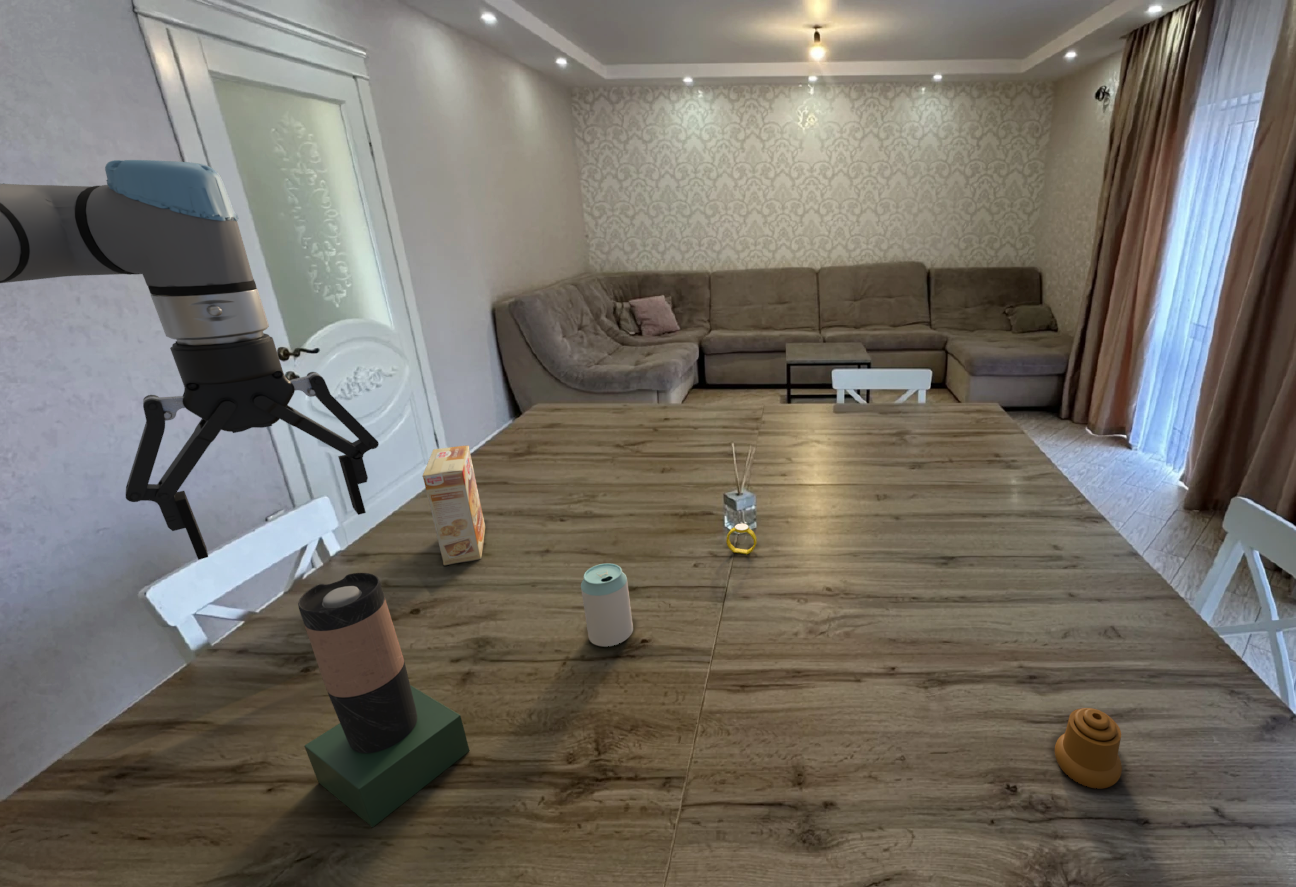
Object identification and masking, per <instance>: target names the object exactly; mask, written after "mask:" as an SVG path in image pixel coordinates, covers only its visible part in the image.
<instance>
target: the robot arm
mask: <svg viewBox="0 0 1296 887" xmlns="http://www.w3.org/2000/svg"><path fill="white" fill-rule="evenodd" d="M104 171H105V175H106V179H105V181H106V184H103V185H93V186H89V185H88V186H87V185H57V184H56V185H54V184H49V185H48V184H17V183H16V184H15V183H4V182H3V183H0V284H6V283H17V282H25V281H26V282H27V281H35V280H44V279H46V280H47V279H52V278H53V279H54V278H63V277H79V276H80V277H81V276H107V275H113V276H114V275H142V276H143V279H144V281H145V284H146V287H147V288H148V291H149V294H150V297H151V300H152V303H153V306H154V308H155V310H156V313H157V317H158V318H159V321H160V324H161V327H162V329H163V332H164V334H165V337H167V338H168V339H172V340H175V341H174V342H173V343H172V344H171V347H170V352H171V354H172V358H173V360H174V363H175V366H176V369H177V371H178V374H179V377H180V380H181V382H182V384H183V388H184V390H183V394H182V395H176V396H162V397H161V396H160V397H159V396H158V395H156V394H148V395H146V396H144V398H143V399H142V405H143V406H142V407H143V412H144V417H145V424H144V427H143V430H142V434H141V437H140V440H139V444H138V446H137V451H136V454H135V456H134V460H133V463H132V467H131V469H130V473H129V476H128V480H127V483H126V486H125V499H126V500H127V501H128V502H130V503H138V502H143V501H145V502H146V501H148V502H154V503H156V504H157V505H158V506H159V509H160V511H161V514H162V516H163V519H164V521H165V523H166V526H167V528H168V529H169V530H170V531H171V532H175V531H180V530H184V529H185V530H186V533H187V535H188V538H189V540H190V543H191V545H192V548H193V549H194V553H195V555H196V557H197V560H198V561H200V560H202V559H206V558H209V553H208V549H207V544H206V542H205V540H204V538H203V534H202V533H201V530H200V528H199V525H198V522H197V520H196V517H195V515H194V512H193V509H192V506H191V504H190V501H189V499H188V496H187V494H186V492H185V490H180V491H179V489H180V488H181V487H182V485H183V484H184V482H186V480H187V478H188V477H189V475H190V474H191V472H192V471H193V470H194V468H195V467H196V465H197V464H198V463H199V461H200V459H201V458H202V457H203V455H204V454H205V452H206V450H207V449H208V448H209V447H210V445H211V444H212V442H214V441H215V440H216V438H217V436H218V435H219V434H220V433H221V431H224V432H228V433H232V434H236V433H242V432H245V431H247V430H250V429H253V428H255V429H256V428H257V429H258V428H261V429H263V428H268V427H273V425H274V424H275V423H277V422H278V421H280V420H281V421H283V422H285V423H287V424H288V425H290V426H292V427H294V428H297V429H298V430H300V431H302V432H304V433H306V434H307V435H310V436H311V437H313V438H315V439H317V440H318V441H320V442H322V443H324V444H326V445H328V446H329V447H331V448H333V449H335V450H336V451H338V452H340V453H341V454H343V455H338V456H337V457H338V460H339V465H340V468H341V471H342V475H343V478H344V482H345V486H346V489H347V492H348V496H349V500H350V502H351V506H352V508H353V510H354V511H355V513H356V514H357V516H359V515H363V514H366V513H367V512H366V508H365V504H364V501H363V497H362V494H361V490H360V486H359V485H361V484H366V483H367V482H368V479H369V477H368V473H367V469H366V466H365V461H364V455H365V453H367V452H369V451H370V450H375V449H378V447H379V445H380V444H379V443H380V442H379V440H377V439H376V437H374V435H372V434H371V433H370V432H369V431H368V430H367V429H366V427H364V426H363V425H362V424H361V422H359V421H358V419H356V418H355V417H354V416H353V415H352V414H351V413H350V411H348V410H347V409H346V408H345V407H344V405H342V404H341V403H340V402H339V401H338V400H337V399H336V398H335V397H334V396H333V395H332V394H331V392H330V389H329V387H328V385H327V383H326V380H325V379H324V377H323V376H321V375H320V374H319V373H318V372H317V371H310V372H308V373H307V374H306V375H305V376H302V377H301V376H300V377H297V378H292V379H289V378H287V376H286V375H285V373H284V370H283V367H282V363H281V361H280V357H279V354H278V350H277V347H276V344H275V341H274V338H273V336H270V334H268V333H264V331H266V330H268V328H269V327H270V324H269V321H268V318H267V315H266V312H265V307H264V305H263V301H262V299H261V295H260V293H259V289H258V287H257V283H256V281H255V278H254V275H253V272H252V269H251V265H250V262H249V258H248V255H247V252H246V251H247V250H246V247H245V245H244V241H243V237H242V232H241V230H240V226H239V223H238V222H239V215H238V213H236V212H235V209H234V206H233V203H232V202H231V199H230V196H229V193H228V191H227V188H226V186H225V182H224V180H223V178H222V176H221V175H220V173H218V171H217V170H216V169H214V168H213V167H211V166H209V165H206V164H203V163H197V162H189V161H188V162H187V161H176V160H175V161H173V160H172V161H171V160H151V159H150V160H149V159H124V160H121V159H116V160H110V161H108V162H107V163H106V164H105V167H104ZM295 391H301V392H303V393H304V394H305V395H306V396H307V397H311V398H313V397H315V398H316V399H317V400H318V401H319V402H320V403H321V405H323V406H324V407H325V408H326V409H327V410H328V411H329V412H330V413H331V414H332V415H334V416H335V418H336V419H337V420H338V421H340V423H342V424H343V425H344V426H345V427H346V428H347V430H349V431H350V432H351V433H352V434H353V435H354V436H355V437H356V438H357V440H355V441H350V440H349V439H347V438H345V437H343V436H341V435H340V434H338V433H336V432H334V431H333V430H332V429H329V428H327V427H325V426H324V425H322V424H320V423H319V422H317V421H315V420H313V419H312V418H310V417H308V416H306V415H305V414H303V413H301V412H299V411H298V410H297V409H295V408H293V407H292V406H291V405H289V403H290V402H291V400H292V398H293V396H294V395H295ZM181 409H186V410H187V411H188V412H190V413H192V414H193V415H195V416H197V417H198V418H200V421H199V422H198V423H197V424H196V426H195V428H194V431H193V432H192V434H190V436H189V438H188V439H187V441H186V442H185V444H184V445H183V446H182V448H181V450H180V451H179V452H178V454H177V455H176V456H175V458H174V460H173V461H172V462H171V464H170V465H169V466H168V468H167V469H166V470H165V472H164V474H163V475H162V476H161V478H160V479H159V480H158V482H157V483H149V482H150V480H151V476H152V473H153V469H154V466H155V463H156V460H157V458H158V457H157V456H158V453H159V449H160V447H161V443H162V440H163V437H164V433H165V431H166V430H165V429H166V421H172V420H174V419H176V417H177V412H178V411H179V410H181Z"/></svg>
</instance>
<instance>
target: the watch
mask: <svg viewBox="0 0 1296 887" xmlns="http://www.w3.org/2000/svg"><path fill="white" fill-rule="evenodd" d="M732 533H738V534H745V533H746V534H748V535H750V537H751V539H752V540H753V545H752V546H751V547H750V548H748V549H744V548H737V547H735V546H734V545H733V543H732V542H731V540H730V538H731V535H732ZM757 541H758V538H757V535H756V533H755V532H754V530H752V529H751V528H750V527H749V525H748V524H746V523H737V524H735V525H734V527H732V528H731V529H730V530H729V531H728V533H727V534H726V539H725V543H726V545H727V548H728V549H729V550H730V551H731V552H732V553H734V554H743V555H749V554H751V553H752V552H754V550H755V548H756V547H757V546H756V545H757Z"/></svg>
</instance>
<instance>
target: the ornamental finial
mask: <svg viewBox="0 0 1296 887" xmlns="http://www.w3.org/2000/svg"><path fill="white" fill-rule="evenodd" d="M1068 716H1069V717H1068V720H1067V724H1066V727H1065V732H1064V733H1062V734H1061V735H1060V736H1059V737H1058V738H1057V740H1056V742H1055V745H1054V757H1055V760H1056V762H1057V765H1058V767H1059V768H1060V769H1061V770H1062V771H1063V773H1064V774H1065V775H1066V776H1067V775H1068V776H1067V777H1068V778H1069V779H1071V780H1072V779H1073V780H1072V781H1074V782H1075V783H1077V782H1078V783H1077V784H1079V785H1081V784H1082V786H1084V787H1086V786H1087V788H1090V789H1096V788H1097V789H1096V790H1098V789H1100V790H1101V789H1102V790H1103V789H1107V788H1110V787H1112V786H1114V785H1115V784H1116V783H1117V782H1118V781H1119V780H1120V779H1121V777H1122V772H1123V765H1122V760H1121V758H1120V756H1119V750H1120V744H1121V738H1122V731H1121V728H1120V727H1119V724H1117V722H1116V721H1115V720H1113V718H1112V717H1111V716H1109V715H1108V714H1107V713H1105V712H1104V711H1102V710H1099V709H1097V708H1092V707H1082V708H1081V707H1080V708H1077V709H1073V711H1072V712H1070V714H1069V715H1068Z"/></svg>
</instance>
